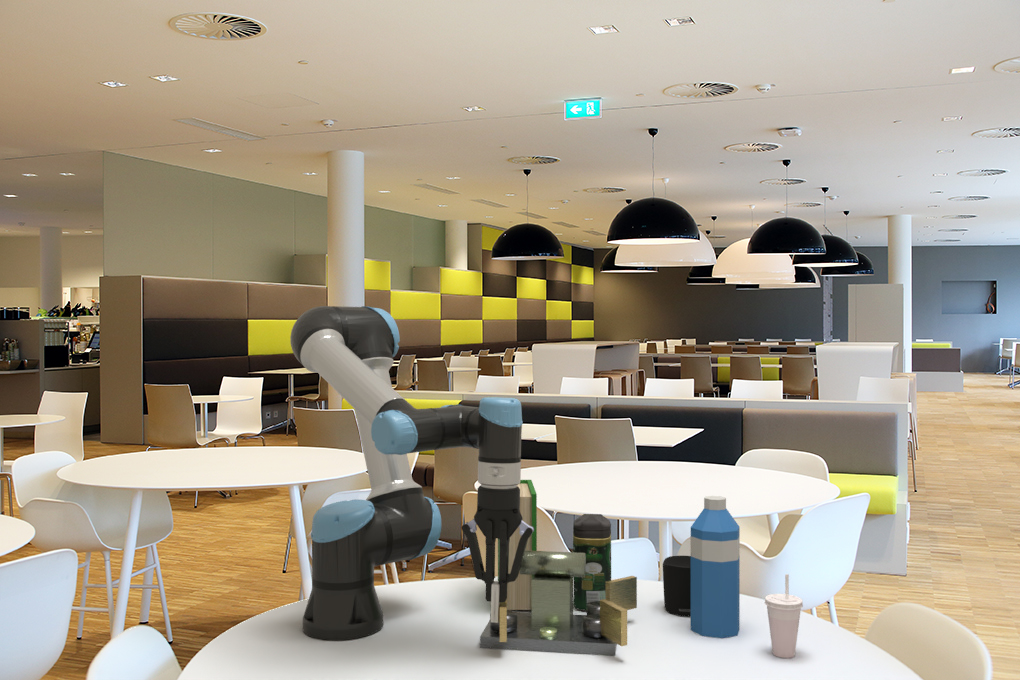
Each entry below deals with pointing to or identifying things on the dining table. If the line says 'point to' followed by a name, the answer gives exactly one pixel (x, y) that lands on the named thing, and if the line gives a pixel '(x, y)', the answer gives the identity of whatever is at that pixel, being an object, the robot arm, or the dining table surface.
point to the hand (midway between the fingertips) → (495, 620)
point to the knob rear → (617, 595)
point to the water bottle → (715, 571)
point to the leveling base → (548, 645)
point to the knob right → (607, 623)
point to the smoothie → (783, 621)
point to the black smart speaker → (677, 585)
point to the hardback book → (522, 586)
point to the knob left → (504, 622)
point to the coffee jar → (592, 558)
